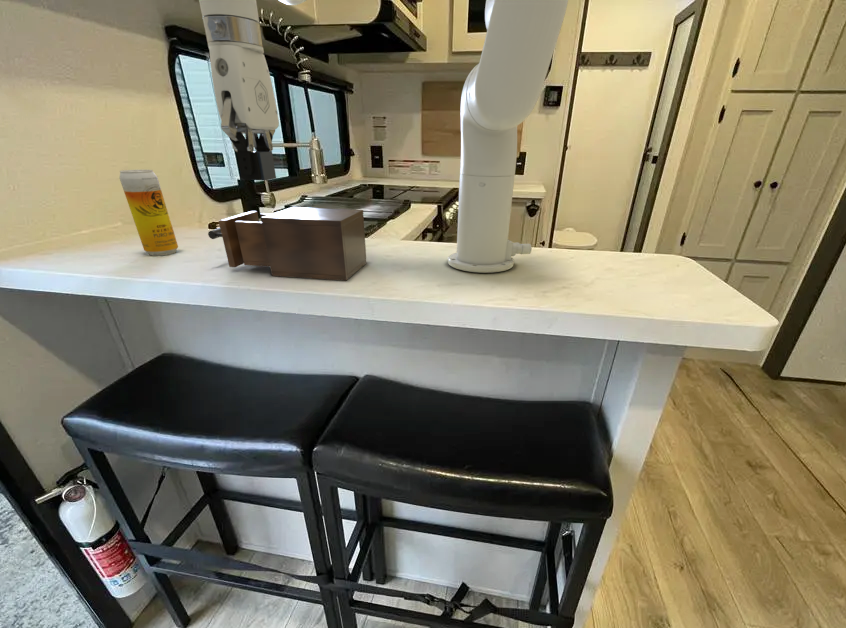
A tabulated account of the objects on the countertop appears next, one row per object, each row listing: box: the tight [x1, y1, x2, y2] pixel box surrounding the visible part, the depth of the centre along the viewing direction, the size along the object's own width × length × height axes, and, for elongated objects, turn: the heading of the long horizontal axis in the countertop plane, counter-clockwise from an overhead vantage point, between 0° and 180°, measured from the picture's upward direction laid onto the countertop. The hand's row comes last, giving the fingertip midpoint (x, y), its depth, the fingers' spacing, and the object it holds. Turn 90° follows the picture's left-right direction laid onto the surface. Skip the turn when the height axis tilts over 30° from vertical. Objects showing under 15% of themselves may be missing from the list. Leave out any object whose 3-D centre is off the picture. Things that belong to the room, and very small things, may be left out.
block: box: [241, 150, 277, 182], centre depth 68 cm, size 4×4×4 cm
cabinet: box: [260, 206, 368, 282], centre depth 73 cm, size 14×12×10 cm
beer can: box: [119, 169, 179, 256], centre depth 81 cm, size 6×6×15 cm
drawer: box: [207, 210, 271, 268], centre depth 75 cm, size 17×10×8 cm, turn 80°
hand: (259, 177), depth 69 cm, fingers closed on block, 4 cm apart
